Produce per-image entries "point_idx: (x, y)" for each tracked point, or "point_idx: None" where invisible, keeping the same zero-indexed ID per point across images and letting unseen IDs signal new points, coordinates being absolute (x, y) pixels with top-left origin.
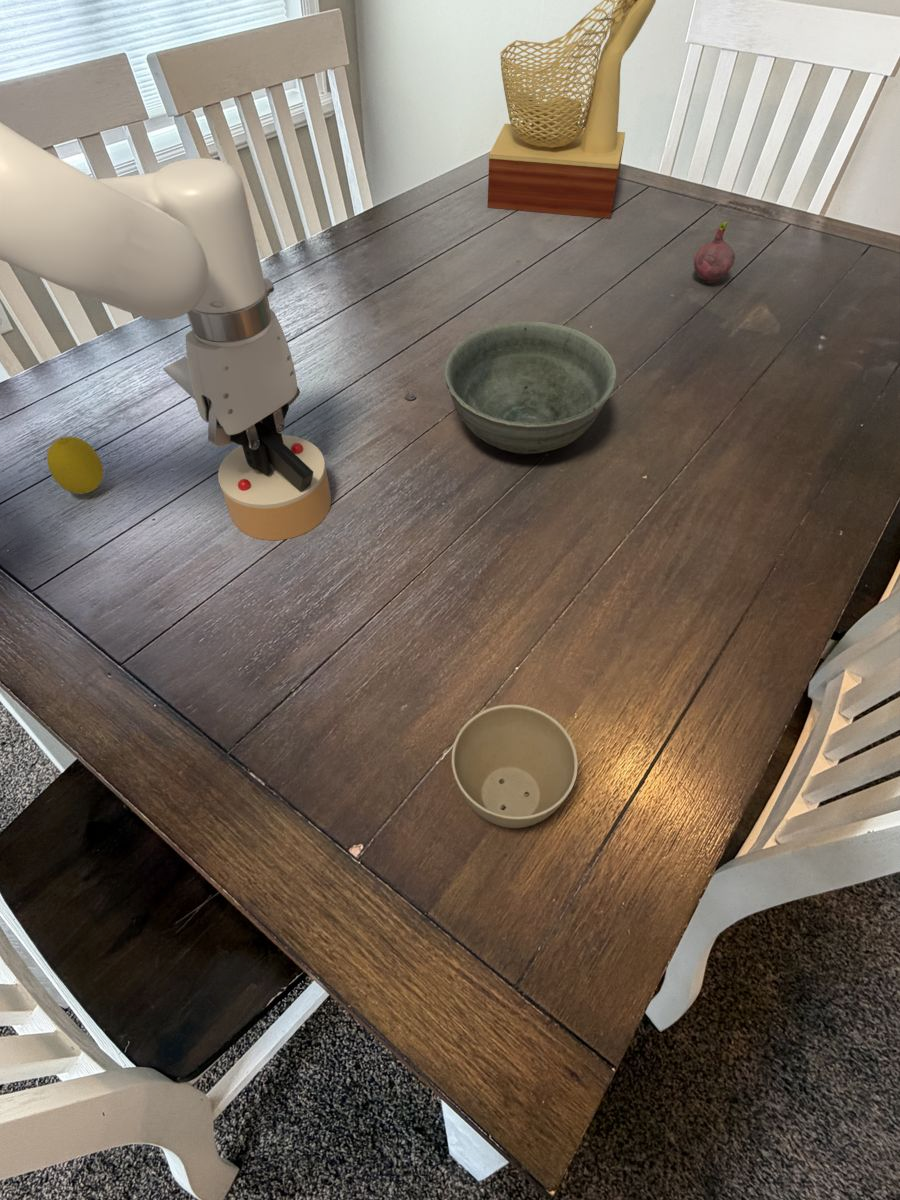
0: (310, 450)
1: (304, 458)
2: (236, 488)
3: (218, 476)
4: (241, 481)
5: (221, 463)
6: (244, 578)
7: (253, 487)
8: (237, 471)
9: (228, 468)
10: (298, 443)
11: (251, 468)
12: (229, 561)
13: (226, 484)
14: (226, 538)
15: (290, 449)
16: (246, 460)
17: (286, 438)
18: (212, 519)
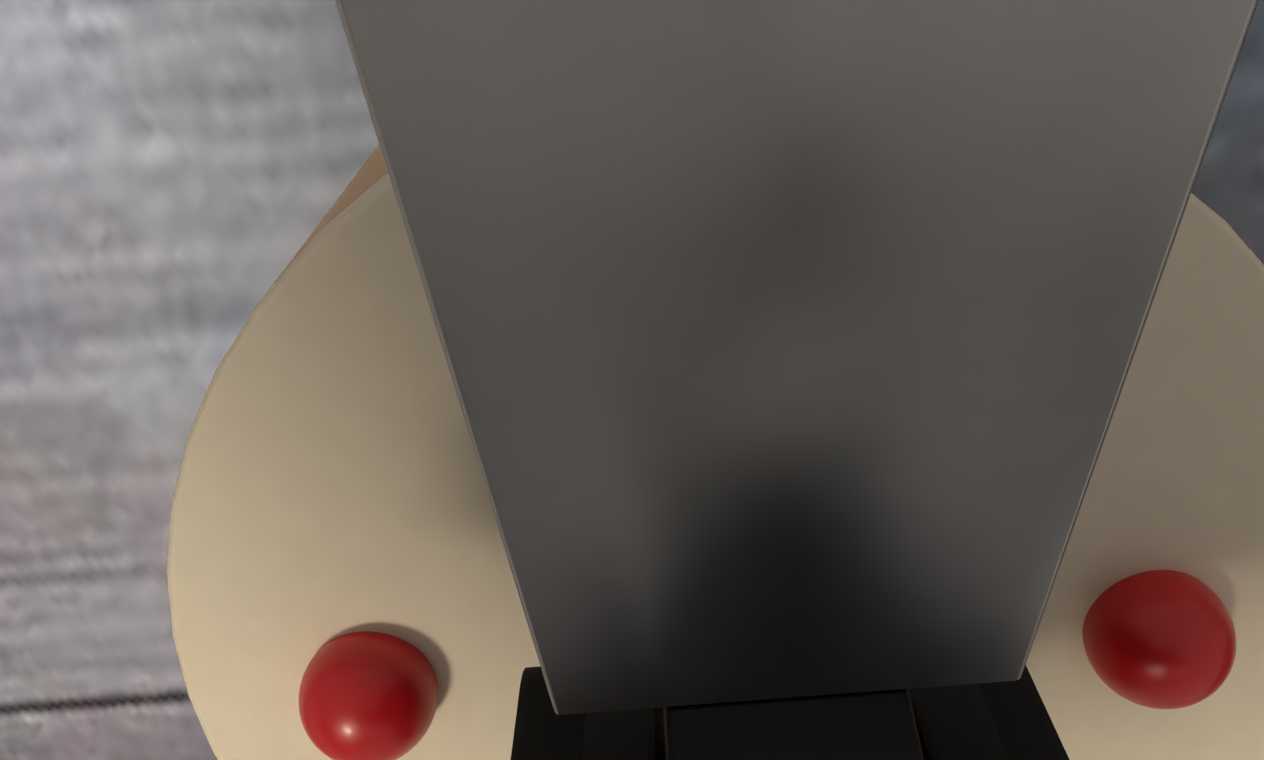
0: (1225, 708)
1: (1084, 752)
2: (289, 653)
3: (218, 380)
4: (333, 747)
5: (366, 208)
6: (128, 738)
7: (435, 741)
8: (442, 462)
9: (390, 342)
10: (1215, 683)
11: None
12: (108, 582)
13: (234, 536)
14: (189, 402)
15: (1115, 570)
16: (518, 700)
17: (1257, 393)
18: (190, 148)
